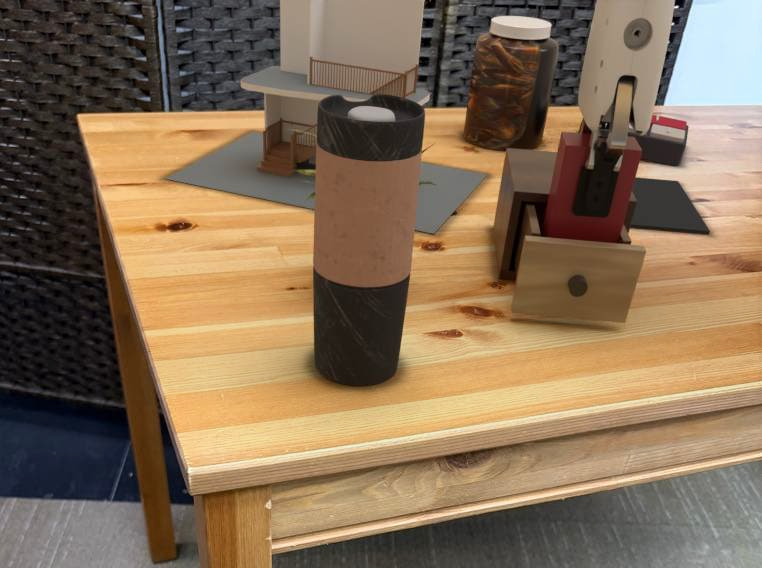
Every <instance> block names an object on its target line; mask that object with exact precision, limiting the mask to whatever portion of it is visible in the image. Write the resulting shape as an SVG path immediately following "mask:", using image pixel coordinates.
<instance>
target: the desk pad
mask: <svg viewBox="0 0 762 568" xmlns="http://www.w3.org/2000/svg"><path fill="white" fill-rule="evenodd" d="M632 192H633V194H634V196H635V198H636V200H637V205H636V208H635V211H634V215H633V219H632V222H631V226H630V229H642V230H653V231H666V232H677V233H687V234H699V235H710V233H711V230H710V229H709V227H708V226H707V224H706V222H705V221H704V219H703V218H702V216H701V214H700V213H699V211H698V210H697V209H696V206H695V205H694V203H693V202H692V201H691V199H690V197H689V196H688V193H686V191H685V189H684V188H683V186H682V185H681V183H680V181H678V180H673V179H671V180H670V179H659V178H647V177H637V176H636V177H635V181H634V185H633V189H632Z"/></svg>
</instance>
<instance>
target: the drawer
mask: <svg viewBox="0 0 762 568" xmlns="http://www.w3.org/2000/svg"><path fill="white" fill-rule="evenodd" d="M546 207H547V203H538V202H527V201H523V205H522V210H521V215H520V221H519V226H518V231H517V237H516V242H515V247H514V253H513V259H514V266H515V273H516V280H515V285H514V290H513V295H512V300H511V306H510V310H511V314H518V315H519V314H520V315H532V316H541V317H542V316H543V317H552V318H563V319H575V320H585V321H599V322H611V323H618V324H625V323H626V321H627V318H628V315H629V311H630V308H631V304H632V302H633V298H634V294H635V291H636V288H637V284H638V281H639V278H640V275H641V271H642V267H643V265H644V261H645V258H646V254H647V248H646V247H645V245H639V244H632V239H631V236H630V234H629V233H628V232H627V230H626V227H625V225H624V223H623V227H622V231H621V234H620V238H619V242H618V244H617V243H606V242H594V241H583V240H571V239H560V238H548V237H541V233H542V228H543V223H544V218H545V212H546Z"/></svg>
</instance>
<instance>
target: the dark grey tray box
mask: <svg viewBox="0 0 762 568" xmlns="http://www.w3.org/2000/svg"><path fill="white" fill-rule="evenodd" d="M582 121H583V119H581V123H580V125H579V129H578V132H577V133H580V129H581V125H582ZM687 123H688V122H687V121H686V120H682V119H677V118H673V117H667V116H662V115H657V114H653V115H652V119H651V123H650V127H649V130H648V131H647V132H646V133H645V134H644V135H642V136H640V135H637V134H636V132H635V131H634V129H633V127H632V125H631V124H630V122H629V127H628V133H627V136H628V137H635V139H636V141H637V142H638V144H639V146H640V148H641V149H642V154H641V158H640V159H644V160H648V161H653V162H657V163H662V164H666V165H670V166H674V167H675V166H676V167H678V166H680V164H681V161H682V158H683V156H684V152H685V149H686V147H687V141H688V135H689V127H690V126H689V125H688V124H687ZM606 125H607V123H606V124H605V128H606Z"/></svg>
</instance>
